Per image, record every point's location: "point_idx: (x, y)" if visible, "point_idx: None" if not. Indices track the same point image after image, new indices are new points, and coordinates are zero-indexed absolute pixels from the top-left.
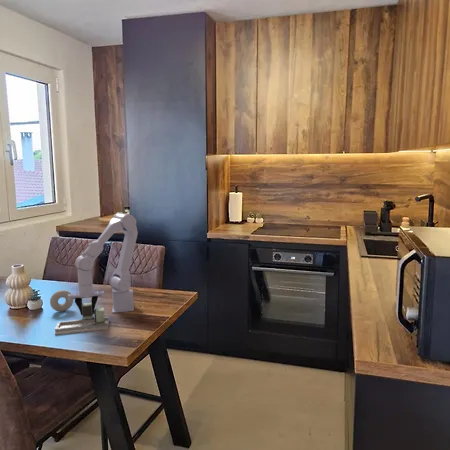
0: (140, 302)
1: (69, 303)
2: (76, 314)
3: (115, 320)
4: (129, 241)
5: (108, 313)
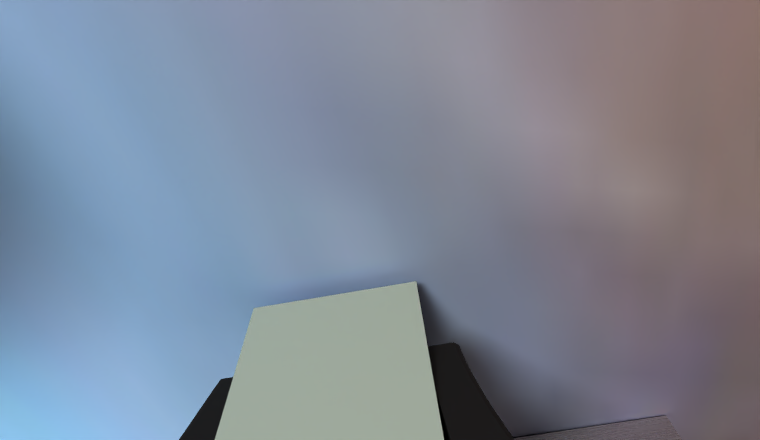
0: None
1: None
2: (25, 151)
3: (749, 409)
4: None
5: (689, 154)
